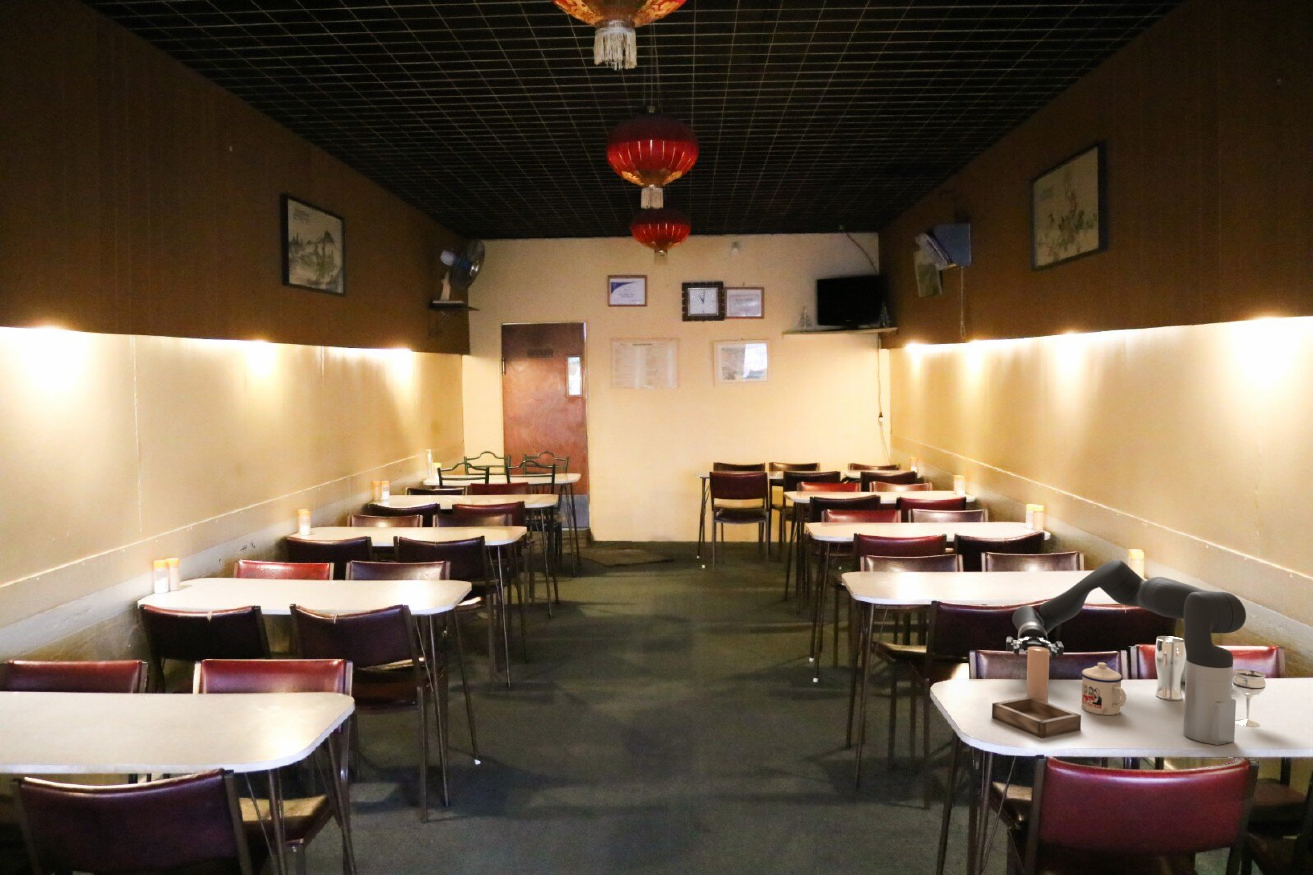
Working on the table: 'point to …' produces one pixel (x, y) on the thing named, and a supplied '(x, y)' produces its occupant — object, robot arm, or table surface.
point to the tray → (1036, 717)
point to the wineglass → (1248, 689)
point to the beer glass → (1170, 666)
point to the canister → (1038, 673)
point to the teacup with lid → (1102, 690)
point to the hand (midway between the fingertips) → (1035, 653)
